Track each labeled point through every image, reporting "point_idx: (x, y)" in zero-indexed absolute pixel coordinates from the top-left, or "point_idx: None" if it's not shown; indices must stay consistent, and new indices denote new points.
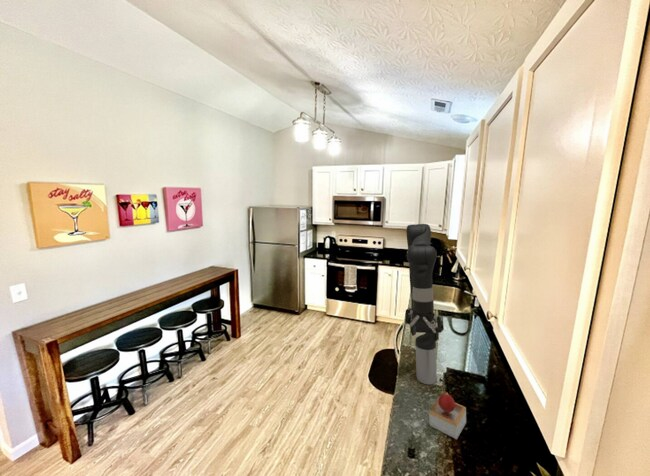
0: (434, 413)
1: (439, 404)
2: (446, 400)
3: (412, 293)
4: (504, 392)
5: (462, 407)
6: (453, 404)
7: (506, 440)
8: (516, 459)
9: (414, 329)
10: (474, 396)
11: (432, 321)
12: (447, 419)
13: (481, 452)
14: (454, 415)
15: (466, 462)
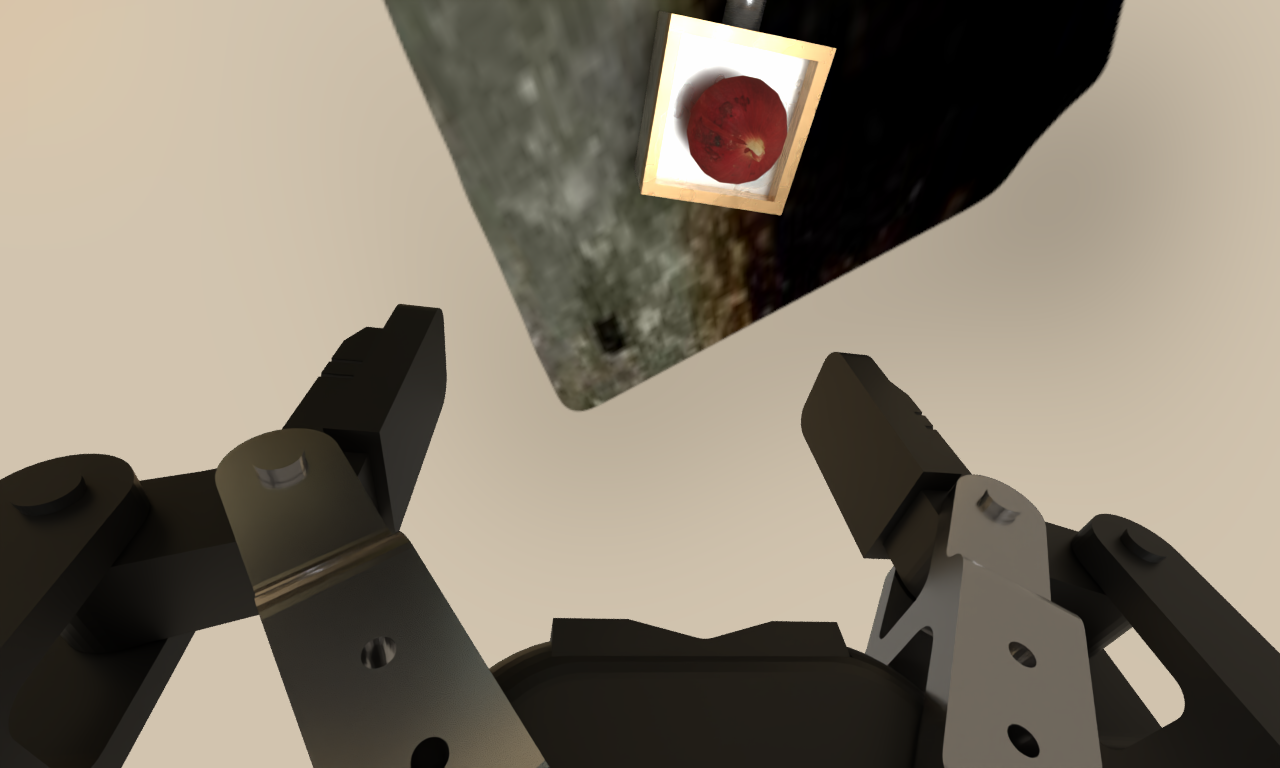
0: (670, 197)
1: (697, 164)
2: (748, 175)
3: None
4: None
5: (815, 59)
6: (781, 152)
7: (971, 65)
8: (974, 162)
9: (414, 430)
10: None
11: (1009, 700)
12: (738, 208)
13: (848, 200)
14: None
15: (791, 274)
